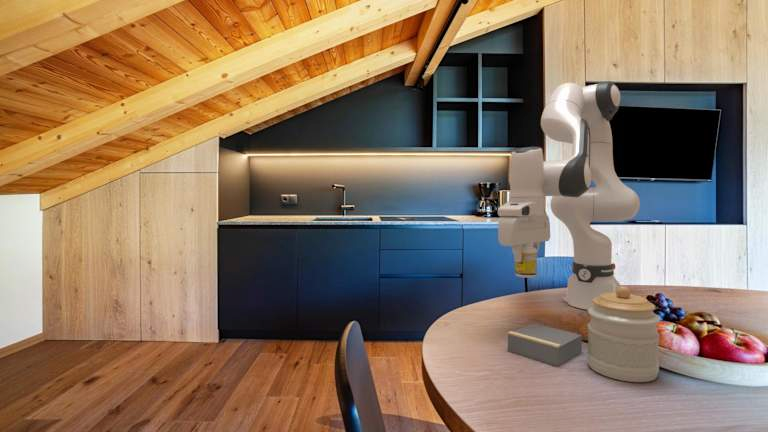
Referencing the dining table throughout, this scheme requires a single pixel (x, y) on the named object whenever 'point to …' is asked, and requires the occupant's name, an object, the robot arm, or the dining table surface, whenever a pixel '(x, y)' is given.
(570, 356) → the block
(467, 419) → the dining table surface
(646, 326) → the jar
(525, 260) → the supplement bottle
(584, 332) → the pastry
